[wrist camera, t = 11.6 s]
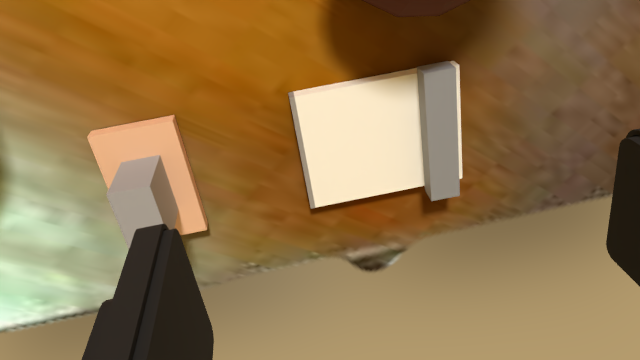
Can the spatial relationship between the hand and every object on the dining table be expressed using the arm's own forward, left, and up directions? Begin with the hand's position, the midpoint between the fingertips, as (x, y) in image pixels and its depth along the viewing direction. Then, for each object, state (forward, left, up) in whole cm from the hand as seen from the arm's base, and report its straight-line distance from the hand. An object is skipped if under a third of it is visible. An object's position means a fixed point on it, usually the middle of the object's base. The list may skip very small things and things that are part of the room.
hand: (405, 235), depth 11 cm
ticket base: (-5, +12, -30) cm, 33 cm away
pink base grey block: (+14, +12, -30) cm, 35 cm away
